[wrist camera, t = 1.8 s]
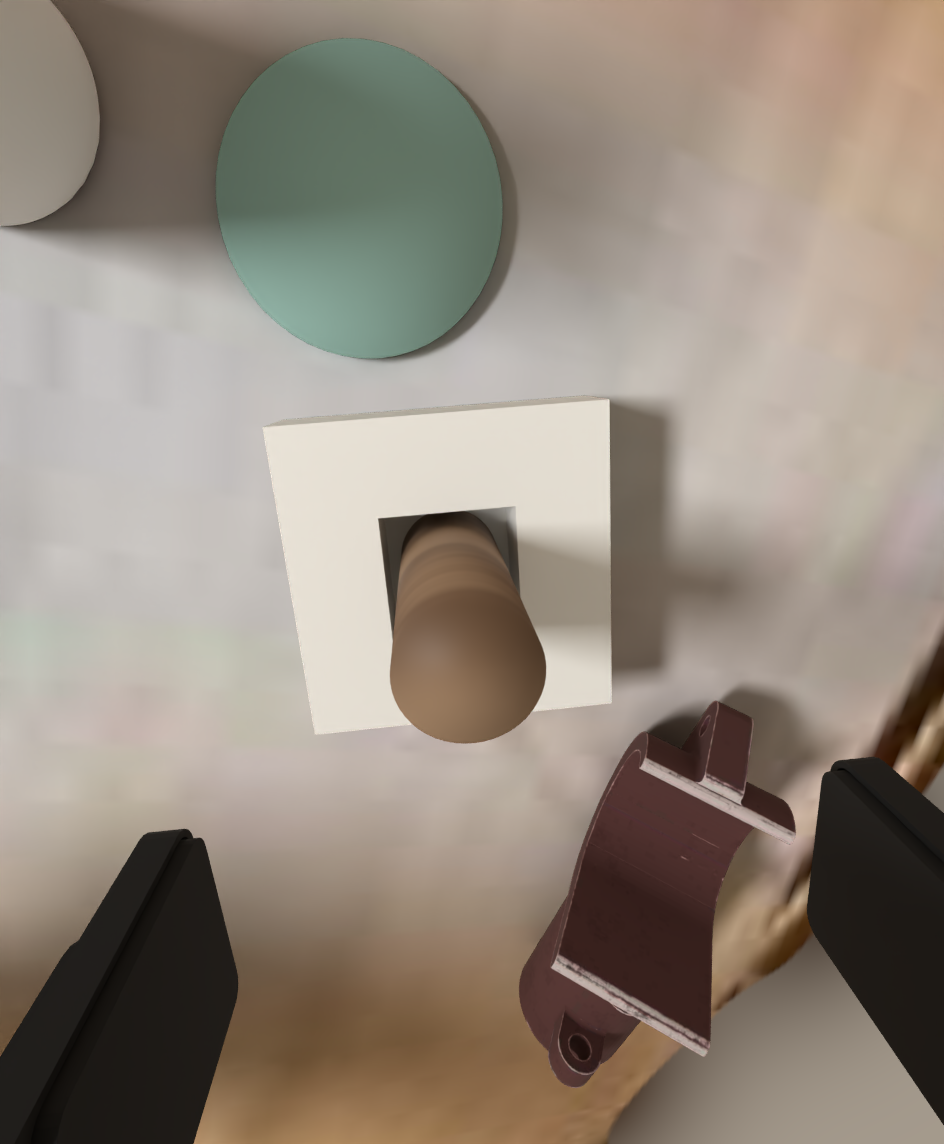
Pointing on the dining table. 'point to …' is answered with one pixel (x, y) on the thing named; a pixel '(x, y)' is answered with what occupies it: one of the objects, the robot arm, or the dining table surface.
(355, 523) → the pocket block
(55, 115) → the milk bottle
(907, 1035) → the robot arm
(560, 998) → the bracket
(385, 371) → the dining table surface
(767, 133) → the dining table surface
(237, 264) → the felt pad
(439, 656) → the walnut dowel
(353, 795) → the dining table surface
